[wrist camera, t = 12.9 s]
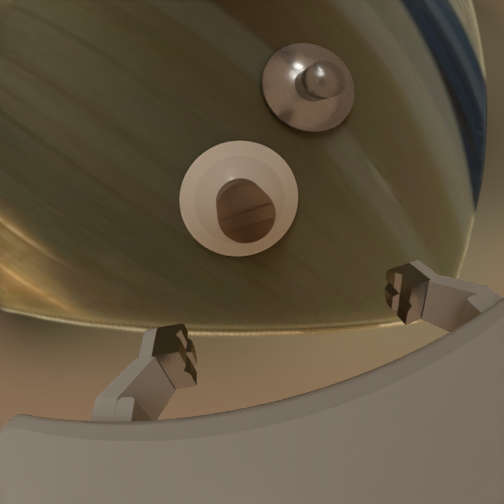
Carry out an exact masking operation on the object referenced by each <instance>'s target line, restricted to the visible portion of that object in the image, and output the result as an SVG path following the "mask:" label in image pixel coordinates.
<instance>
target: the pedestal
mask: <svg viewBox="0 0 504 504" xmlns="http://www.w3.org/2000/svg"><path fill="white" fill-rule="evenodd" d="M261 90H262V95H263V98H264V101H265V103H266V105H267V106H268V108H269V110H270V111H271V112H272V113H273V115H274V116H275V117H276V118H278V119H279V120H280V121H281V122H283V123H284V124H286V125H287V126H289V127H292V128H294V129H297V130H300V131H306V132H319V131H325V130H329V129H331V128H334V127H335V126H337V125H339V124H340V123H341V122H342V121H343V120H344V119H345V118H346V117H347V116H348V114H349V113H350V111H351V109H352V106H353V103H354V96H355V90H354V83H353V79H352V76H351V74H350V72H349V70H348V68H347V67H346V65H345V64H344V63H343V61H342V60H341V59H340V58H339V57H338V56H336V55H335V54H334V53H332V52H331V51H329V50H328V49H326V48H324V47H321V46H319V45H315V44H310V43H296V44H291V45H288V46H285V47H283V48H281V49H280V50H278V51H277V52H276V53H275V54H273V56H272V57H271V58H270V59H269V60H268V62H267V63H266V65H265V67H264V69H263V72H262V76H261Z"/></svg>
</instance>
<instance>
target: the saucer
mask: <svg viewBox="0 0 504 504" xmlns="http://www.w3.org/2000/svg"><path fill="white" fill-rule="evenodd" d="M238 178H244V179H248V180H251V181H253V182H254V183H256V184H257V185H258V186H259V187H260V188H261V189H262V190H263V191H264V192H265V193H266V194H267V195H268V196H269V197H270V198H271V200H272V201H273V203H274V206H275V210H276V218H275V222H274V225H273V227H272V229H271V230H270V232H269V233H268V234H267V235H266V236H265V237H263V238H262V239H260V240H258V241H256V242H252V243H239V242H235V241H233V240H231V239H229V238H228V237H227V236H226V235H225V234H224V233H223V232H222V230H221V229H220V227H219V224H218V219H217V209H216V197H217V194H218V192H219V190H220V189H221V187H222V186H223V185H224V184H226V183H227V182H229V181H231V180H233V179H238ZM179 203H180V211H181V215H182V218H183V221H184V223H185V225H186V227H187V229H188V231H189V232H190V233H191V235H192V236H193V237H194V238H195V239H196V240H197V241H198V242H199V243H200V244H202V245H203V246H204V247H206V248H208V249H209V250H211V251H214V252H216V253H219V254H222V255H227V256H248V255H252V254H256V253H259V252H261V251H263V250H265V249H267V248H269V247H271V246H272V245H274V244H275V243H276V242H277V241H279V240H280V239H281V238H282V237H283V235H284V234H285V233H286V232H287V230H288V229H289V227H290V226H291V224H292V222H293V220H294V217H295V214H296V211H297V205H298V189H297V184H296V180H295V177H294V175H293V173H292V171H291V169H290V167H289V166H288V164H287V163H286V162H285V161H284V159H283V158H282V157H280V156H279V155H278V154H277V153H276V152H274V151H273V150H272V149H270V148H268V147H266V146H264V145H261V144H258V143H254V142H250V141H230V142H225V143H222V144H219V145H216V146H214V147H212V148H210V149H208V150H207V151H205V152H204V153H202V154H201V155H200V156H199V157H198V158H197V159H196V160H195V161H194V162H193V164H192V165H191V166H190V168H189V169H188V171H187V173H186V175H185V177H184V179H183V182H182V185H181V189H180V200H179Z"/></svg>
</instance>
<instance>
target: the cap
mask: <svg viewBox="0 0 504 504" xmlns="http://www.w3.org/2000/svg"><path fill="white" fill-rule="evenodd" d="M216 209H217V219H218V224H219V227H220V229H221V230H222V232H223V233H224V234H225V235H226V236H227V237H228V238H229V239H231V240H233V241H235V242H239V243H252V242H256V241H258V240H260V239H262V238H263V237H265V236H266V235H267V234H268V233H269V232H270V230H271V229H272V227H273V225H274V222H275V218H276V210H275V206H274V203H273V201H272V200H271V198H270V197H269V196H268V195H267V194H266V193H265V192H264V191H263V190H262V189H261V188H260V187H259V186H258V185H257V184H256V183H254V182H253V181H251V180H248V179H244V178H238V179H233V180H231V181H229V182H227V183H226V184H224V185H223V186H222V187H221V189H220V190H219V192H218V194H217V197H216Z"/></svg>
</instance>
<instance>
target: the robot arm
mask: <svg viewBox="0 0 504 504" xmlns="http://www.w3.org/2000/svg"><path fill="white" fill-rule="evenodd" d="M386 280H387V282H388V284H387V286H386V288H385V299H386V302H387V304H388V306H389V307H390V308H391V309H392V310H395V311H397V316H398V317H399V318H400V319H401V320H402V321H403V322H404V324H405V325H406V324H409V323H411V322H414V321H416V320H419V319H421V318H422V320H424V321H427V322H429V323H431V324H433V325H435V326H438V327H440V328H442V329H444V330H447V331H449V332H450V333H448V334H446V335H444V336H442V337H441V338H439V339H437V340H435V341H433V342H431V343H429V344H427V345H426V346H424V347H422V348H420V349H418V350H416V351H414V352H411V353H409V354H408V355H405V356H403V357H401V358H399V359H396V360H394V361H392V362H390V363H387V364H385V365H383V366H380V367H378V368H375V369H373V370H371V371H368V372H365V373H363V374H360V375H358V376H355V377H353V378H350V379H347V380H344V381H341V382H339V383H336V384H333V385H330V386H327V387H324V388H320V389H317V390H314V391H311V392H307V393H304V394H301V395H297V396H294V397H290V398H286V399H282V400H279V401H274V402H270V403H266V404H262V405H257V406H253V407H248V408H243V409H238V410H233V411H227V412H221V413H215V414H209V415H201V416H194V417H186V418H176V419H165V420H157V419H158V417H159V416H160V414H161V412H162V411H163V409H164V408H165V406H166V405H167V403H168V401H169V400H170V398H171V397H172V395H173V394H174V392H175V389H178V388H185V387H191V386H196V385H197V382H196V381H197V373H196V370H195V368H194V366H195V365H196V363H197V362H196V361H197V358H196V352H195V348H194V345H193V343H192V341H191V340H190V339H188V338H187V336H188V331H187V329H186V327H185V325H184V324H177V325H171V326H165V327H159V328H154V329H148V330H146V331H145V332H144V336H143V341H142V344H141V348H140V352H139V356H138V359H135V360H133V361H132V362H131V363H130V364H129V365H128V366H127V367H126V368H125V370H123V371H122V372H121V374H119V375H118V377H116V379H114V380H113V381H112V382H111V384H110V385H108V387H107V388H106V389H105V390H104V391H103V392H102V393H101V394H100V395H99V396H98V397H97V398H96V402H95V405H94V409H93V413H92V416H91V420H90V421H76V420H64V419H54V418H45V417H37V416H32V415H26V414H18V415H16V416H14V417H13V418H11V419H10V420H8V421H7V422H6V423H5V424H4V425H2V426H1V427H0V504H504V298H501V297H500V296H499V295H498V294H497V293H495V292H494V291H493V290H492V289H490V288H489V287H487V286H485V285H481V284H477V283H473V282H468V281H464V280H460V279H456V278H452V277H447V276H443V275H442V276H439V275H438V274H436V273H435V272H434V271H432V270H431V269H430V268H428V267H427V266H426V265H424V264H423V263H422V262H420V261H419V260H414V261H411V262H409V263H407V264H404V265H401V266H398V267H395V268H392V269H390V270H388V271H387V273H386Z"/></svg>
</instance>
